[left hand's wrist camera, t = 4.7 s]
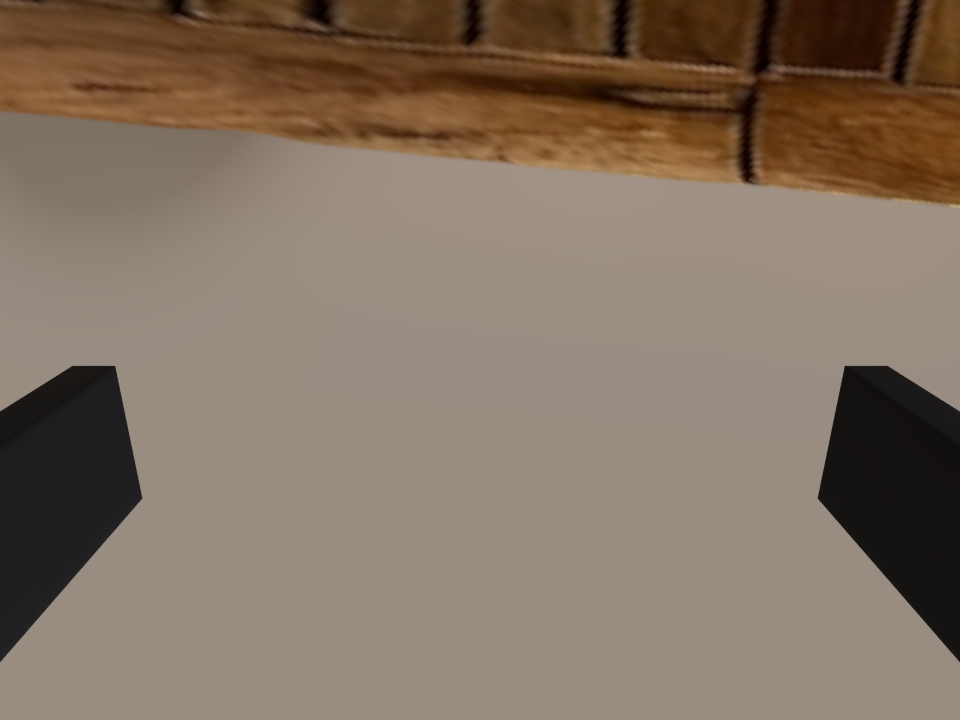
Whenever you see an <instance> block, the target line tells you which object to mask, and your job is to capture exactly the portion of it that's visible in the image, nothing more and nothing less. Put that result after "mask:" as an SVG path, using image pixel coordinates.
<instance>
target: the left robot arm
mask: <svg viewBox="0 0 960 720" xmlns="http://www.w3.org/2000/svg"><path fill="white" fill-rule="evenodd" d="M141 499H142V495H141V490H140V485H139V480H138V475H137V470H136V465H135V460H134V456H133V451H132V446H131V441H130V436H129V431H128V427H127V421H126V417H125V412H124V407H123V402H122V397H121V392H120V387H119V382H118V378H117V373H116V368H115V366H72V367H70V368H69V369H67V370H65V371H64V372H62V373H61V374H59V375H57V376H56V377H54V378H53V379H51V380H50V381H48V382H46V383H45V384H43V385H42V386H40V387H38V388H37V389H35V390H34V391H32V392H30V393H29V394H27V395H26V396H24V397H23V398H21V399H19V400H18V401H16V402H15V403H13V404H11V405H10V406H8V407H7V408H5V409H3V410H2V411H0V662H1V660H2V659H3V658H4V657H5V656H6V655H7V654H8V652H9V651H10V650H11V649H12V648H13V647H14V646H15V644H16V643H17V642H18V641H19V640H20V639H21V638H22V636H23V635H24V634H25V633H26V632H27V631H28V629H29V628H30V627H31V626H32V625H33V624H34V623H35V621H36V620H37V619H38V618H39V617H40V616H41V614H42V613H43V612H44V611H45V610H46V609H47V608H48V606H49V605H50V604H51V603H52V602H53V601H54V599H55V598H56V597H57V596H58V595H59V594H60V593H61V591H62V590H63V589H64V588H65V587H66V586H67V584H68V583H69V582H70V581H71V580H72V579H73V578H74V576H75V575H76V574H77V573H78V572H79V571H80V570H81V568H82V567H83V566H84V565H85V564H86V563H87V562H88V560H89V559H90V558H91V557H92V556H93V555H94V553H95V552H96V551H97V550H98V549H99V548H100V547H101V545H102V544H103V543H104V542H105V541H106V540H107V538H108V537H109V536H110V535H111V534H112V533H113V532H114V530H115V529H116V528H117V527H118V526H119V525H120V524H121V522H122V521H123V520H124V519H125V518H126V517H127V515H128V514H129V513H130V512H131V511H132V510H133V509H134V507H135V506H136V505H137V504H138V503H139V502H140V500H141ZM818 499H819V500H820V502H821V503H822V504H823V505H824V506H825V507H826V509H827V510H828V511H829V512H830V513H831V514H832V515H833V517H834V518H835V519H836V520H837V521H838V522H839V523H840V525H841V526H842V527H843V528H844V529H845V530H846V532H847V533H848V534H849V535H850V536H851V537H852V538H853V540H854V541H855V542H856V543H857V544H858V545H859V547H860V548H861V549H862V550H863V551H864V552H865V553H866V555H867V556H868V557H869V558H870V559H871V560H872V562H873V563H874V564H875V565H876V566H877V567H878V568H879V569H880V571H881V572H882V573H883V574H884V575H885V576H886V578H887V579H888V580H889V581H890V582H891V583H892V585H893V586H894V587H895V588H896V589H897V590H898V591H899V593H900V594H901V595H902V596H903V597H904V598H905V600H906V601H907V602H908V603H909V604H910V605H911V606H912V608H913V609H914V610H915V611H916V612H917V613H918V614H919V616H920V617H921V618H922V619H923V620H924V621H925V623H926V624H927V625H928V626H929V627H930V628H931V629H932V631H933V632H934V633H935V634H936V635H937V636H938V638H939V639H940V640H941V641H942V642H943V643H944V644H945V646H946V647H947V648H948V649H949V650H950V651H951V652H952V654H953V655H954V656H955V657H956V658H957V659H958V660H959V662H960V411H958V410H957V409H955V408H953V407H952V406H950V405H949V404H947V403H945V402H944V401H942V400H941V399H939V398H938V397H936V396H934V395H933V394H931V393H930V392H928V391H926V390H925V389H923V388H922V387H920V386H918V385H917V384H915V383H914V382H912V381H910V380H909V379H907V378H906V377H904V376H903V375H901V374H899V373H898V372H896V371H895V370H893V369H891V368H890V367H888V366H845V368H844V373H843V378H842V382H841V387H840V392H839V397H838V402H837V407H836V412H835V417H834V421H833V426H832V431H831V436H830V441H829V446H828V451H827V456H826V461H825V465H824V470H823V475H822V480H821V485H820V490H819V495H818Z"/></svg>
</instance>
